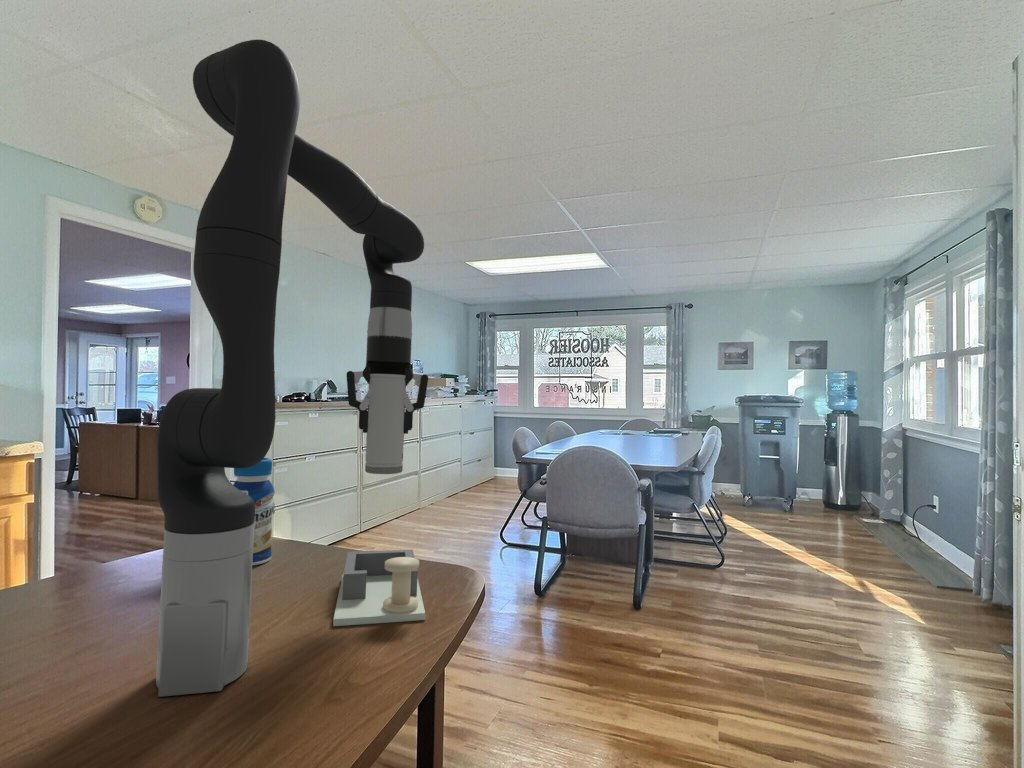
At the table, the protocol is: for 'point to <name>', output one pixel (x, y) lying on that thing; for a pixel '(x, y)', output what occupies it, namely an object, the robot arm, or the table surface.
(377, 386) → the travel mug
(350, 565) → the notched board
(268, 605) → the table surface
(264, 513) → the beverage bottle
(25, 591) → the table surface
